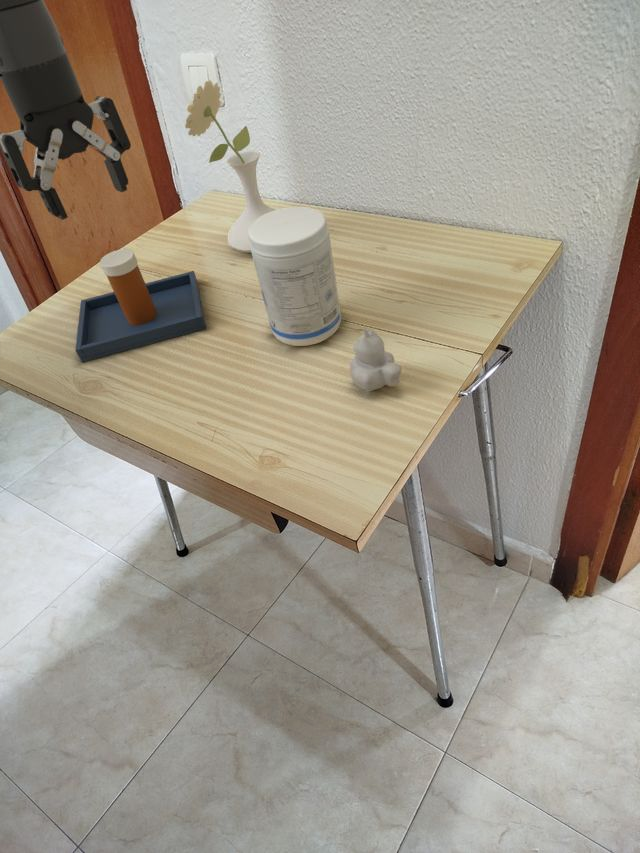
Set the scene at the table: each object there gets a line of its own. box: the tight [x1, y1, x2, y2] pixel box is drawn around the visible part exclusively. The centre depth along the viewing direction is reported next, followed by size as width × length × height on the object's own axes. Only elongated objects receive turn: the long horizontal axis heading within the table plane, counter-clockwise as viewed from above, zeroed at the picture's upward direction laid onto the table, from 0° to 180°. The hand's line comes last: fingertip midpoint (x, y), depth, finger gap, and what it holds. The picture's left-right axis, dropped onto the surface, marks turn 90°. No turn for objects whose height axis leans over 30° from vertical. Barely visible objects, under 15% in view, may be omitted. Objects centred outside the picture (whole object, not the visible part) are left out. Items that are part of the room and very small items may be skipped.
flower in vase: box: [184, 79, 277, 254], centre depth 89 cm, size 13×11×25 cm
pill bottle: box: [99, 248, 157, 325], centre depth 83 cm, size 5×5×10 cm
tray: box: [75, 270, 207, 363], centre depth 86 cm, size 18×14×2 cm
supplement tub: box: [248, 205, 342, 347], centre depth 73 cm, size 10×10×15 cm
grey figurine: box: [349, 326, 402, 392], centre depth 65 cm, size 5×7×8 cm
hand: (92, 203), depth 74 cm, fingers open, 8 cm apart
